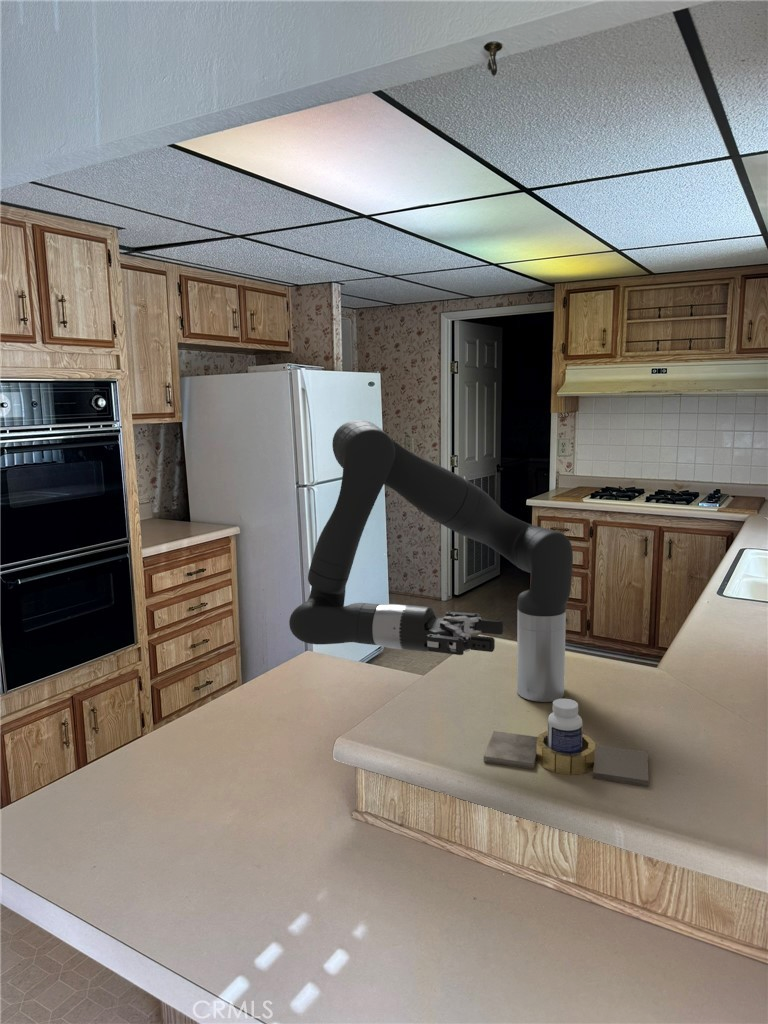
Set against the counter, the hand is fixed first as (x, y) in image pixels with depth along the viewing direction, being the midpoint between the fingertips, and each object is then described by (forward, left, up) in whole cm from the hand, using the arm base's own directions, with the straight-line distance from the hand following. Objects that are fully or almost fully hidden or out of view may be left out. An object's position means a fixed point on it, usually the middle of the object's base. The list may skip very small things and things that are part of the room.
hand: (498, 636), depth 113 cm
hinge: (0, +11, -20) cm, 23 cm away
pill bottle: (0, +11, -20) cm, 23 cm away
